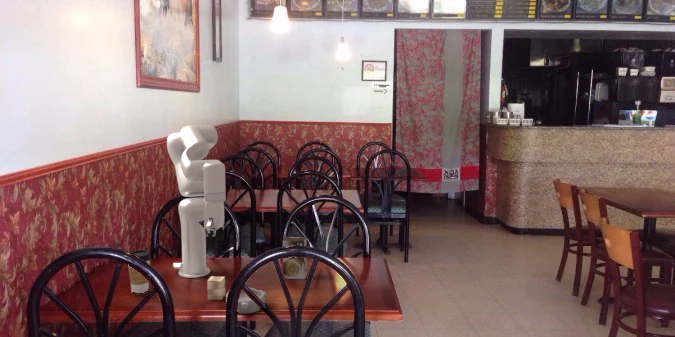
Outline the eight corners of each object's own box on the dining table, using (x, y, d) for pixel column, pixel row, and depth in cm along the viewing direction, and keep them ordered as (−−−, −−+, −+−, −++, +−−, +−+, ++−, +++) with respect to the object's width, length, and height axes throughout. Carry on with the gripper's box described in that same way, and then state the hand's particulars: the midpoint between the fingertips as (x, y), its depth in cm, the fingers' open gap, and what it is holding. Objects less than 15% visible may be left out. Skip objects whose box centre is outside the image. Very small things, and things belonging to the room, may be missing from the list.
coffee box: (307, 274, 227) (307, 236, 225) (304, 279, 220) (304, 240, 218) (285, 273, 227) (285, 235, 225) (282, 278, 221) (282, 239, 219)
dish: (249, 318, 181) (249, 303, 181) (217, 310, 188) (216, 296, 187) (274, 304, 194) (274, 290, 193) (243, 297, 201) (243, 283, 200)
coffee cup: (156, 289, 208) (155, 250, 206) (142, 296, 200) (140, 256, 198) (138, 286, 210) (137, 248, 208) (123, 293, 202) (121, 254, 200)
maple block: (207, 299, 198) (207, 280, 197) (211, 294, 202) (211, 276, 202) (221, 299, 197) (220, 281, 196) (225, 295, 202) (224, 276, 201)
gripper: (211, 192, 204) (212, 237, 206) (196, 200, 187) (197, 249, 189) (231, 193, 204) (232, 238, 206) (218, 201, 186) (219, 250, 188)
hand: (215, 243), depth 197 cm, fingers open, 9 cm apart
